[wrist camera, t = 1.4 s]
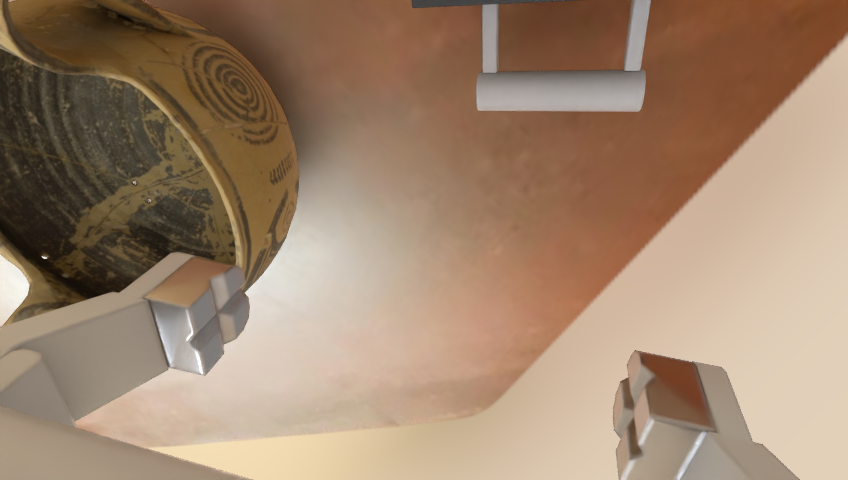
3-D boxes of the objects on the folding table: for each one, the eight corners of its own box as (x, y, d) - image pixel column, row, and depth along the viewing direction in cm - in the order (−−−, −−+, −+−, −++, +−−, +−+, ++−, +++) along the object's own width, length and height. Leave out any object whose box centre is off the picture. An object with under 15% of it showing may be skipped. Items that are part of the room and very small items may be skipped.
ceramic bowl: (99, -140, 25) (-359, -219, 13) (395, 12, 25) (232, 81, 13) (95, 200, 38) (-138, 329, 25) (294, 300, 38) (161, 476, 25)
